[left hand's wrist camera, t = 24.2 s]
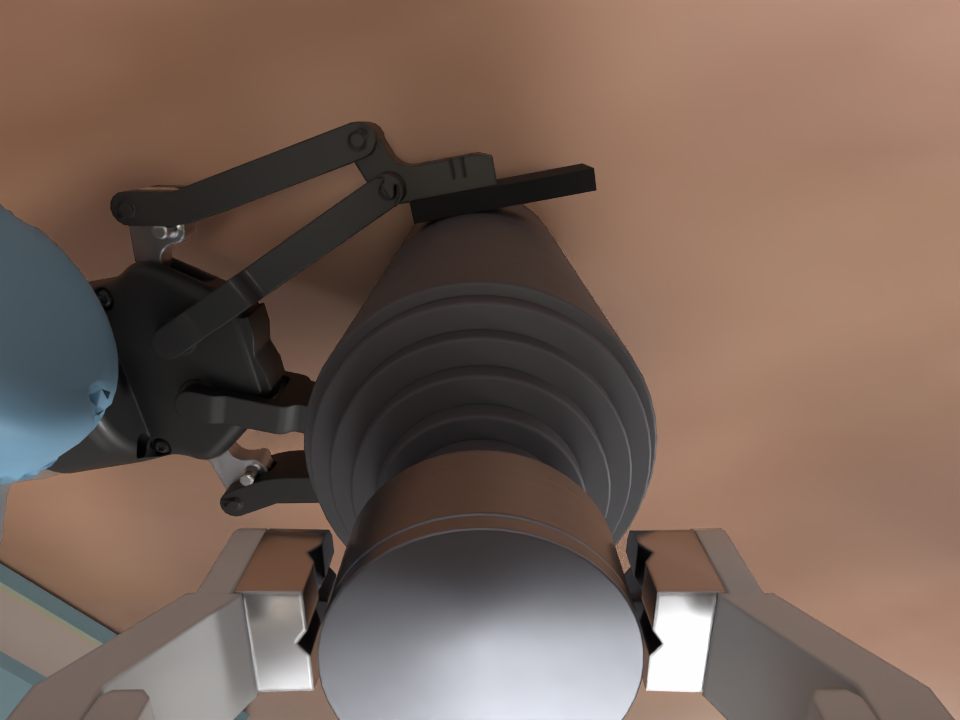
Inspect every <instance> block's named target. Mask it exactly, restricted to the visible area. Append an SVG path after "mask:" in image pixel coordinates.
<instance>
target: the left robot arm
mask: <svg viewBox="0 0 960 720" xmlns="http://www.w3.org/2000/svg"><path fill="white" fill-rule="evenodd" d="M626 553H627V556H628V559H629V562H630V566H631V567H630V568H629V569H628V571H627V572H626V573H625V574H624V576H625V579H626V582H627V585H628V588H629V591H630V594H631V598H632V601H633V604H634V607H635V610H636V613H637V616H638V619H639V622H640V625H641V629H642V633H643V639H644V646H645V664H644V670H643V675H642V679H643V682H644V685H645V689H646V691H679V692H703V693H702V695H703V696H704V697H705V698H706V699H707V700H708V701H709V702H710V703H711V704H712V705H713V706H714V707H715V708H716V709H717V710H718V711H719V712H720V713H721V714H722V715H723V716H724V717H725V718H726V719H727V720H955V719H954V718H953V717H952V715H951V714H950V713H949V712H948V710H947V709H946V708H945V707H944V705H943V704H942V703H941V702H940V700H939V699H938V698H937V697H936V695H935V694H934V693H933V692H932V690H931V689H930V688H929V687H927V686H926V685H924V684H922V683H921V682H919V681H917V680H916V679H914V678H913V677H911V676H909V675H908V674H906V673H904V672H903V671H901V670H899V669H898V668H896V667H894V666H893V665H891V664H889V663H888V662H886V661H884V660H883V659H881V658H879V657H878V656H876V655H874V654H873V653H871V652H869V651H868V650H866V649H865V648H863V647H861V646H860V645H858V644H856V643H855V642H853V641H851V640H850V639H848V638H846V637H845V636H843V635H841V634H840V633H838V632H836V631H835V630H833V629H831V628H830V627H828V626H826V625H825V624H823V623H821V622H820V621H818V620H817V619H815V618H813V617H812V616H810V615H808V614H807V613H805V612H803V611H802V610H800V609H798V608H797V607H795V606H793V605H792V604H790V603H788V602H787V601H785V600H783V599H782V598H780V597H778V596H777V595H775V594H773V593H764V592H763V591H762V589H761V588H760V586H759V584H758V583H757V581H756V580H755V578H754V576H753V575H752V573H751V571H750V570H749V568H748V567H747V565H746V563H745V562H744V560H743V558H742V557H741V555H740V554H739V552H738V550H737V549H736V547H735V546H734V544H733V542H732V541H731V539H730V537H729V536H728V534H727V533H726V531H724V530H723V529H721V528H708V529H690V530H639V531H629V535H628V538H627V547H626ZM333 554H334V547H333V539H332V534H331V532H330V531H329V530H312V529H266V528H264V529H238V530H236V531H234V532H233V534H232V535H231V537H230V538H229V540H228V542H227V543H226V545H225V547H224V548H223V550H222V552H221V553H220V555H219V556H218V558H217V560H216V561H215V563H214V565H213V566H212V568H211V570H210V571H209V573H208V575H207V576H206V578H205V579H204V581H203V583H202V584H201V586H200V588H199V589H198V591H197V593H187V594H185V595H183V596H182V597H180V598H178V599H177V600H175V601H173V602H172V603H170V604H168V605H167V606H165V607H163V608H162V609H160V610H158V611H157V612H155V613H153V614H152V615H150V616H148V617H147V618H145V619H143V620H142V621H140V622H138V623H137V624H135V625H133V626H132V627H130V628H128V629H127V630H125V631H123V632H122V633H120V634H119V635H117V636H115V637H114V638H112V639H110V640H109V641H107V642H105V643H104V644H102V645H100V646H99V647H97V648H95V649H94V650H92V651H90V652H89V653H87V654H85V655H84V656H82V657H80V658H79V659H77V660H75V661H74V662H72V663H70V664H69V665H67V666H65V667H64V668H62V669H60V670H59V671H57V672H55V673H54V674H52V675H50V676H49V677H47V678H45V679H44V680H42V681H40V682H39V683H37V684H35V685H34V686H32V687H31V688H30V690H29V691H28V692H27V693H26V695H25V696H24V697H23V698H22V700H21V701H20V702H19V703H18V705H17V706H16V707H15V708H14V710H13V711H12V712H11V713H10V715H9V716H8V717H7V718H6V720H234V719H235V718H236V717H237V716H238V715H239V714H240V713H241V712H242V711H243V710H244V709H245V708H246V707H247V706H248V705H249V704H250V703H251V702H252V701H253V700H254V699H255V698H256V697H257V696H258V694H257V692H280V691H314V689H315V686H316V682H317V679H318V676H319V671H318V660H317V647H318V639H319V633H320V630H321V626H322V623H323V620H324V616H325V613H326V610H327V607H328V604H329V600H330V597H331V594H332V591H333V588H334V585H335V581H336V574H335V573H334V572H333V570H332V569H331V568H330V567H329V566H330V563H331V560H332V557H333Z"/></svg>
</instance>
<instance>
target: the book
mask: <svg viewBox="0 0 960 720" xmlns="http://www.w3.org/2000/svg"><path fill="white" fill-rule="evenodd" d="M115 636H117V634H115V633H114V632H112V631H110V630H109V629H107V628H105V627H104V626H102V625H100V624H99V623H97V622H96V621H94V620H92V619H91V618H89V617H87V616H86V615H84V614H82V613H81V612H79V611H77V610H76V609H74V608H73V607H71V606H69V605H68V604H66V603H64V602H63V601H61V600H59V599H58V598H56V597H54V596H53V595H51V594H50V593H48V592H46V591H45V590H43V589H41V588H40V587H38V586H36V585H35V584H33V583H32V582H30V581H28V580H27V579H25V578H23V577H22V576H20V575H18V574H17V573H15V572H13V571H12V570H10V569H9V568H7V567H5V566H4V565H2V564H0V720H6V718H7V717H8V716H9V715H10V713H11V712H12V711H13V710H14V708H15V707H16V706H17V705H18V703H19V702H20V701H21V700H22V698H23V697H24V696H25V695H26V693H27V692H28V691H29V690H30V688H31V687H32V686H34V685H35V684H37V683H39V682H40V681H42V680H44V679H45V678H47V677H49V676H50V675H52V674H54V673H55V672H57V671H59V670H60V669H62V668H64V667H65V666H67V665H69V664H70V663H72V662H74V661H75V660H77V659H79V658H80V657H82V656H84V655H85V654H87V653H89V652H90V651H92V650H94V649H95V648H97V647H99V646H100V645H102V644H104V643H105V642H107V641H109V640H110V639H112V638H114V637H115ZM248 716H249V715H248V714H247V713H245V712H243V711H242V712H241V713H240V714H239V715H238V716H237V717H236V718H235V719H234V720H247V719H248Z"/></svg>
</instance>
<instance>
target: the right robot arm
mask: <svg viewBox="0 0 960 720" xmlns="http://www.w3.org/2000/svg"><path fill="white" fill-rule="evenodd" d="M354 162H355V164H356V165H357V167H358V169H359V170H360V172H361V173H362V175H363V177H364V178H365V180H366V182H367V183H366V184H364V185H363V186H362V187H360V188H359V189H357V190H356V191H354V192H353V193H352V194H350V195H349V196H347V197H346V198H345V199H343V200H342V201H340V202H339V203H337V204H336V205H335V206H333V207H332V208H330V209H329V210H328V211H326V212H325V213H323V214H322V215H320V216H319V217H318V218H316V219H315V220H313V221H312V222H311V223H309V224H308V225H306V226H305V227H303V228H302V229H301V230H299V231H298V232H296V233H295V234H294V235H292V236H291V237H289V238H288V239H286V240H285V241H284V242H282V243H281V244H279V245H278V246H277V247H275V248H274V249H272V250H271V251H269V252H268V253H267V254H265V255H264V256H262V257H261V258H260V259H258V260H257V261H255V262H254V263H252V264H251V265H250V266H248V267H247V268H245V269H244V270H242V271H241V272H240V273H238V274H237V275H235V276H234V277H232V278H231V279H229V280H228V281H225V280H223V279H220V278H218V277H216V276H214V275H211V274H209V273H207V272H205V271H202V270H200V269H198V268H196V267H193V266H191V265H189V264H187V263H184V262H182V261H180V260H177V259H175V258H173V257H172V250H173V247H174V246H175V245H176V244H178V243H180V242H183V241H185V240H188V239H189V238H191V237H192V235H193V234H194V232H195V221H198V220H201V219H204V218H207V217H210V216H213V215H216V214H219V213H221V212H224V211H227V210H230V209H232V208H235V207H238V206H240V205H243V204H246V203H248V202H251V201H253V200H256V199H259V198H261V197H264V196H267V195H269V194H272V193H275V192H277V191H280V190H282V189H285V188H288V187H290V186H293V185H296V184H298V183H301V182H304V181H306V180H309V179H311V178H314V177H317V176H319V175H322V174H325V173H327V172H330V171H333V170H335V169H338V168H341V167H343V166H346V165H348V164H351V163H354ZM595 190H596V182H595V173H594V168H592V167H590V166H587V165H585V164H577V165H572V166H567V167H561V168H556V169H551V170H545V171H540V172H535V173H529V174H524V175H519V176H513V177H508V178H503V179H497V180H496V175H495V169H494V163H493V157H492V155H489V154H484V153H480V152H476V153H470V154H465V155H460V156H455V157H449V158H444V159H439V160H434V161H428V162H423V163H418V164H409V163H405V162H403V161H401V160H400V159H399V158H398V157H397V156H396V155H395V153H394V152H393V150H392V149H391V147H390V145H389V144H388V142H387V140H386V139H385V136H384V132H383V131H382V129H381V127H379V126H378V125H377V124H375V123H372V122H352V123H349V124H346V125H343V126H341V127H338V128H336V129H333V130H331V131H328V132H325V133H323V134H320V135H318V136H315V137H312V138H310V139H307V140H305V141H302V142H300V143H297V144H294V145H292V146H289V147H287V148H284V149H281V150H279V151H276V152H274V153H271V154H269V155H266V156H263V157H261V158H258V159H256V160H253V161H250V162H248V163H245V164H243V165H240V166H238V167H235V168H232V169H230V170H227V171H225V172H222V173H219V174H217V175H214V176H212V177H209V178H207V179H204V180H201V181H199V182H196V183H194V184H191V185H188V186H183V185H155V186H150V187H144V188H139V189H134V190H130V191H124V192H119V193H117V194H116V195H115V196H113V198H112V200H111V211H112V214H113V216H114V217H115V218H116V219H117V221H119V222H120V223H122V224H124V225H128V226H129V228H130V233H131V239H132V244H133V250H134V256H135V261H136V263H134V264H132V265H130V266H129V267H128V268H127V269H126V270H125V271H124V272H123V273H122V274H121V275H119V276H117V277H112V278H107V279H101V280H96V281H91V282H88V281H87V280H86V278H85V277H84V275H83V274H82V273H81V272H80V270H79V269H78V268H77V267H76V266H75V264H74V263H73V262H72V261H71V260H70V258H69V257H68V256H67V255H66V254H65V253H64V252H63V251H62V249H61V248H60V247H59V246H58V245H56V244H55V243H54V242H53V241H52V240H51V239H50V238H49V237H48V236H47V235H45V234H44V233H43V232H42V231H41V230H40V229H38V228H37V227H34V226H31V225H28V224H26V223H25V222H23V221H22V220H20V219H19V218H17V217H16V216H14V214H13V213H12V212H11V211H9V210H6V209H5V208H4V207H3V206H2V205H1V204H0V545H1V540H2V532H3V524H4V516H5V508H6V500H7V494H8V491H9V489H10V486H11V484H12V483H16V482H23V481H30V480H37V479H44V478H48V477H51V476H54V475H58V474H60V473H75V472H81V471H87V470H93V469H99V468H106V467H112V466H118V465H124V464H130V463H136V462H142V461H147V460H151V459H155V458H158V457H162V456H166V455H171V454H180V455H186V456H190V457H194V458H197V459H202V460H208V459H209V461H210V463H211V464H212V466H213V468H214V469H215V471H216V473H217V474H218V476H219V478H220V479H221V481H222V483H223V484H224V486H225V488H226V492H225V493H224V495H223V496H222V498H221V500H220V505H221V508H222V509H223V510H224V511H225V513H227V514H229V515H232V516H241V515H244V514H247V513H250V512H253V511H256V510H259V509H261V508H264V507H267V506H270V505H273V504H276V503H319V501H318V499H317V496H316V494H315V492H314V490H313V487H312V484H311V480H310V477H309V473H308V470H307V464H306V457H305V450H298V451H287V452H282V453H277V454H274V455H271V452H270V451H269V449H267V448H261V449H255V450H248V449H245V448H242V447H241V446H240V445H239V444H238V443H237V442H236V441H237V440H238V439H239V438H240V436H241V435H242V434H243V433H244V432H245V431H246V430H247V429H248V428H249V429H254V430H259V431H264V432H269V433H274V434H285V433H289V432H293V431H295V432H301V433H304V426H305V419H306V413H307V406H308V403H309V400H310V397H311V393H312V390H313V387H314V384H315V382H313V381H311V380H310V379H309V377H307V376H305V375H302V374H297V373H292V372H288V371H285V369H284V366H283V363H282V360H281V356H280V354H279V353H278V351H277V350H276V348H275V346H274V345H273V343H272V341H271V340H270V322H269V317H268V314H267V311H266V308H265V304H264V303H261V304H259V303H258V301H259V300H260V299H262V298H263V297H265V296H266V295H267V294H269V293H270V292H272V291H273V290H275V289H276V288H278V287H279V286H280V285H282V284H283V283H285V282H286V281H288V280H289V279H291V278H292V277H294V276H295V275H296V274H298V273H299V272H301V271H302V270H304V269H305V268H307V267H308V266H309V265H311V264H312V263H314V262H315V261H317V260H318V259H320V258H321V257H323V256H324V255H325V254H327V253H328V252H330V251H331V250H333V249H334V248H336V247H337V246H338V245H340V244H341V243H343V242H344V241H346V240H347V239H349V238H350V237H352V236H353V235H354V234H356V233H357V232H359V231H360V230H362V229H363V228H365V227H366V226H367V225H369V224H370V223H372V222H373V221H375V220H376V219H378V218H379V217H380V216H382V215H383V214H385V213H386V212H388V211H389V210H391V209H392V208H394V207H396V206H397V205H398V204H402V203H408V202H410V206H411V210H412V215H413V219H414V224H417V223H422V222H427V221H433V220H438V219H444V218H449V217H454V216H459V215H465V214H471V213H476V212H482V211H487V210H492V209H498V208H503V207H509V206H514V205H519V204H525V203H530V202H536V201H541V200H546V199H552V198H557V197H563V196H568V195H573V194H579V193H584V192H590V191H595Z"/></svg>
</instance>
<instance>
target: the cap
mask: <svg viewBox="0 0 960 720" xmlns="http://www.w3.org/2000/svg"><path fill="white" fill-rule="evenodd" d="M317 660H318V671H319V675H320V680H321V685H322V688H323V690H324V693H325V695H326V698H327V700H328V702H329V704H330V706H331V708H332V709H333V711H334V713H335V715H336V716H337V717H338V719H339V720H623V718H624V717H625V716H626V714H627V713H628V711H629V709H630V707H631V706H632V704H633V702H634V700H635V698H636V695H637V693H638V690H639V687H640V684H641V681H642V675H643V670H644V664H645V646H644V639H643V633H642V629H641V625H640V622H639V619H638V616H637V613H636V610H635V607H634V604H633V601H632V598H631V594H630V591H629V588H628V585H627V582H626V579H625V576H624V573H623V570H622V567H621V563H620V560H619V557H618V554H617V551H616V548H615V545H614V542H613V539H612V536H611V533H610V530H609V527H608V524H607V522H606V520H605V518H604V517H603V515H602V513H601V511H600V509H599V508H598V507H597V505H596V504H595V503H594V501H593V500H592V498H591V497H590V496H589V495H588V494H587V493H586V492H585V491H584V490H583V489H582V488H581V487H580V486H579V485H578V484H576V483H575V482H574V481H572V480H571V479H570V478H569V477H567V476H566V475H564V474H563V473H561V472H559V471H558V470H556V469H554V468H552V467H551V466H549V465H546V464H544V463H542V462H539V461H537V460H535V459H532V458H528V457H525V456H521V455H518V454H514V453H508V452H501V451H490V450H471V451H459V452H454V453H449V454H444V455H440V456H437V457H433V458H430V459H427V460H424V461H422V462H420V463H418V464H416V465H413V466H411V467H409V468H407V469H406V470H404V471H402V472H401V473H399V474H398V475H396V476H394V477H393V478H392V479H390V480H389V481H388V482H387V483H385V484H384V485H383V486H382V487H381V488H379V489H378V491H377V492H376V493H375V494H374V495H373V496H372V497H371V498H370V499H369V500H368V502H367V503H366V505H365V506H364V508H363V509H362V511H361V512H360V514H359V515H358V517H357V520H356V522H355V524H354V526H353V528H352V531H351V534H350V537H349V540H348V544H347V547H346V550H345V553H344V556H343V559H342V563H341V566H340V569H339V572H338V575H337V578H336V581H335V585H334V588H333V591H332V594H331V597H330V600H329V604H328V607H327V610H326V613H325V616H324V620H323V623H322V626H321V630H320V633H319V639H318V647H317Z"/></svg>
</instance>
